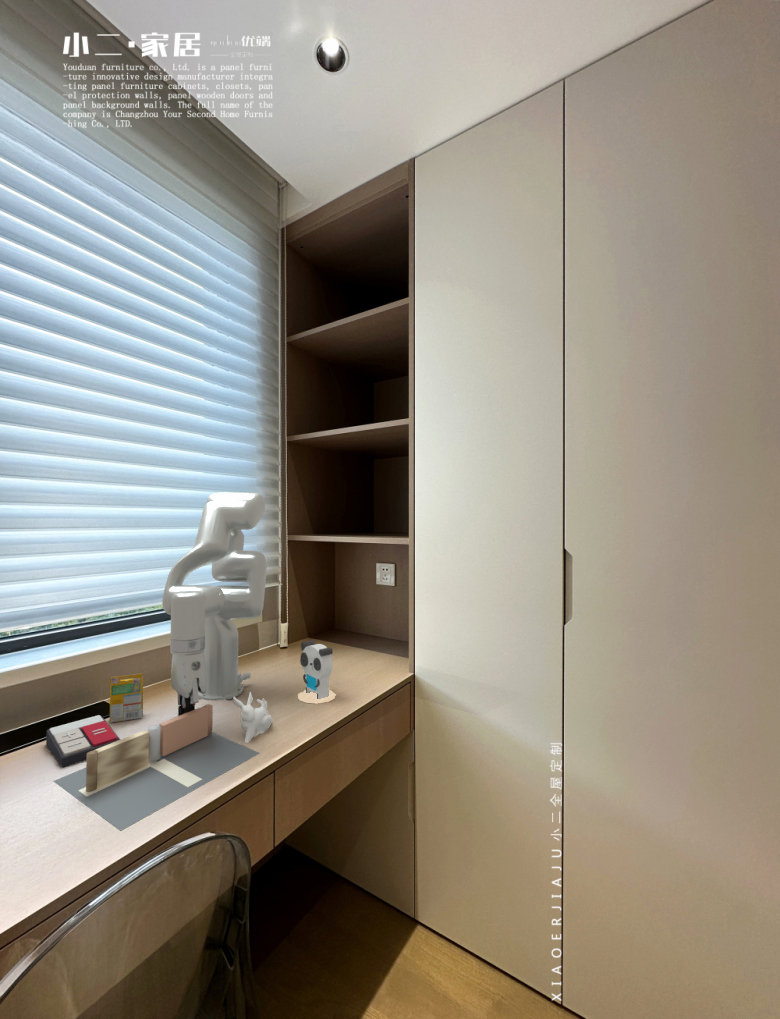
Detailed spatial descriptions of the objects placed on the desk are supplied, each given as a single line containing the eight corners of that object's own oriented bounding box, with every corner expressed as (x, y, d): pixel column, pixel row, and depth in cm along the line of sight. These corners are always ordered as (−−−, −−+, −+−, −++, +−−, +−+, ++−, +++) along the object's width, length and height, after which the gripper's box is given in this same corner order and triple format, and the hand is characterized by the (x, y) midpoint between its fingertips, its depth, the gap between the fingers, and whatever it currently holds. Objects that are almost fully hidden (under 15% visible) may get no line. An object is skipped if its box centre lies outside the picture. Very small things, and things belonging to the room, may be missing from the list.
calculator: (62, 754, 95) (46, 726, 105) (61, 775, 95) (45, 744, 106) (121, 736, 103) (101, 711, 113) (120, 755, 103) (100, 728, 114)
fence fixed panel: (143, 763, 97) (144, 729, 97) (148, 765, 96) (149, 732, 96) (84, 790, 88) (84, 753, 88) (88, 793, 87) (89, 756, 87)
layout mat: (191, 725, 116) (191, 722, 116) (260, 755, 102) (260, 752, 102) (53, 784, 90) (53, 780, 90) (120, 834, 77) (120, 830, 77)
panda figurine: (288, 694, 136) (289, 643, 136) (320, 685, 144) (321, 636, 144) (310, 707, 127) (311, 653, 128) (344, 697, 135) (344, 645, 135)
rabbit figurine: (244, 748, 105) (245, 706, 105) (220, 741, 109) (221, 699, 109) (279, 727, 116) (279, 688, 116) (255, 721, 119) (256, 683, 120)
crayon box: (142, 713, 122) (143, 669, 122) (142, 718, 119) (143, 673, 119) (110, 718, 119) (111, 673, 119) (109, 723, 116) (110, 677, 116)
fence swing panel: (208, 730, 111) (208, 703, 111) (214, 733, 110) (215, 705, 110) (144, 759, 98) (145, 728, 98) (151, 762, 97) (151, 731, 97)
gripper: (217, 648, 106) (215, 728, 106) (191, 635, 116) (189, 708, 116) (183, 654, 101) (182, 739, 100) (159, 640, 111) (158, 716, 111)
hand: (186, 722), depth 108 cm, fingers closed
